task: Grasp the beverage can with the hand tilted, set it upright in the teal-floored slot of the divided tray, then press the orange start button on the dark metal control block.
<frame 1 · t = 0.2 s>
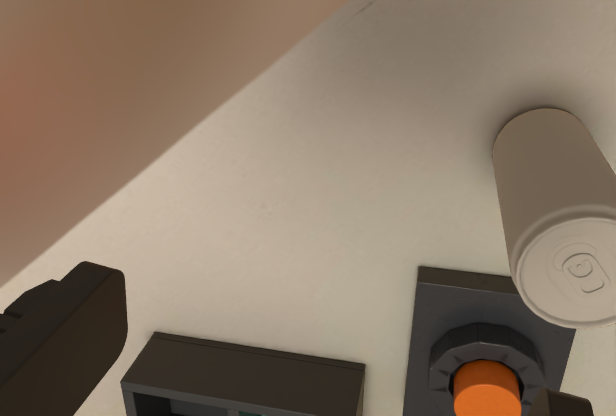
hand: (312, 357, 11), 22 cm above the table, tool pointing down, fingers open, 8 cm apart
beverage can: (539, 148, 30), on the table
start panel: (483, 348, 37), on the table
start button: (486, 395, 33), point 4 cm above the table, slide at 0.1 cm
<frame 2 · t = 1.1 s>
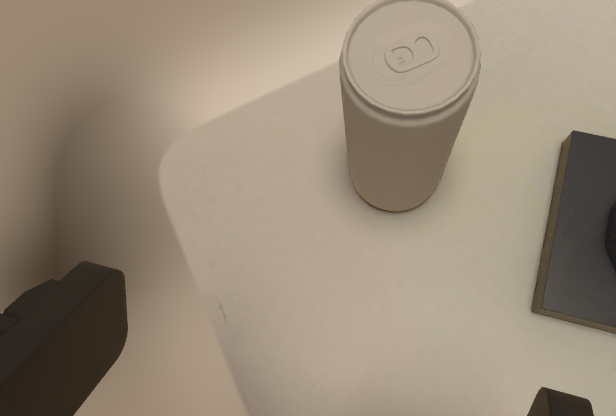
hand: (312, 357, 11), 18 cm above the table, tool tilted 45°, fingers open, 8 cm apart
beverage can: (395, 171, 31), on the table
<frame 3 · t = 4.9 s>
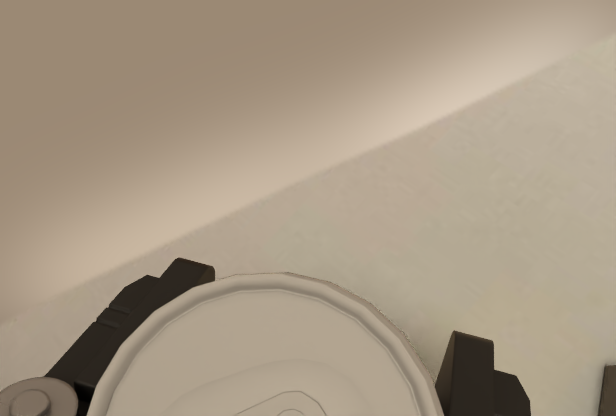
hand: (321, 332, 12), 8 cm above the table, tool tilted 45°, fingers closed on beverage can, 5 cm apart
beverage can: (326, 405, 19), on the table, touching gripper
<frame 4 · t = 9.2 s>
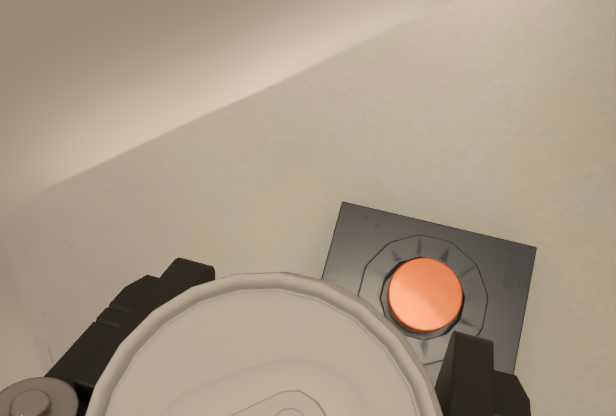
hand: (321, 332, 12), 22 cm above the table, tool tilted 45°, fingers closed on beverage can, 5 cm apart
beverage can: (326, 405, 19), point 14 cm above the table, touching gripper
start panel: (416, 304, 33), on the table
start button: (423, 296, 29), point 4 cm above the table, slide at 0.1 cm
when the fingers open (8 cm above the table, at t = 13.9 s): beverage can stays where it is, resting on divided tray.
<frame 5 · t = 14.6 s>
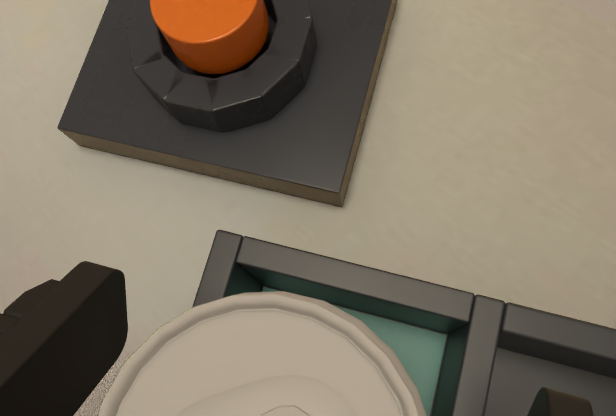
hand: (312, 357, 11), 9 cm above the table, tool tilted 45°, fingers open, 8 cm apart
beverage can: (325, 410, 19), point 1 cm above the table, touching divided tray
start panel: (238, 72, 24), on the table
start button: (211, 12, 20), point 4 cm above the table, slide at 0.1 cm
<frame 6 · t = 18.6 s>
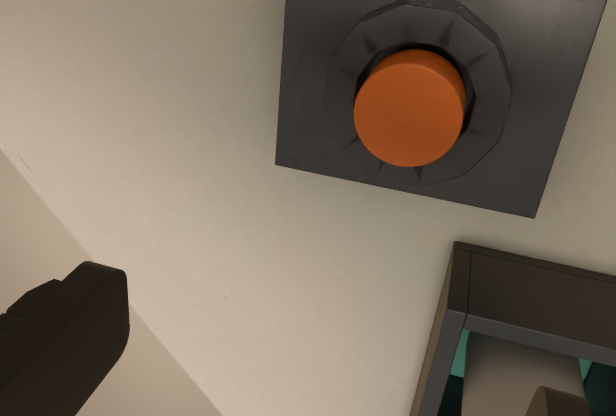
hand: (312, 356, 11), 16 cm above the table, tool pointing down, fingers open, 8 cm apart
divided tray: (576, 403, 29), on the table
beverage can: (519, 340, 28), point 1 cm above the table, touching divided tray
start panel: (423, 75, 24), on the table
start button: (410, 107, 20), point 4 cm above the table, slide at 0.1 cm
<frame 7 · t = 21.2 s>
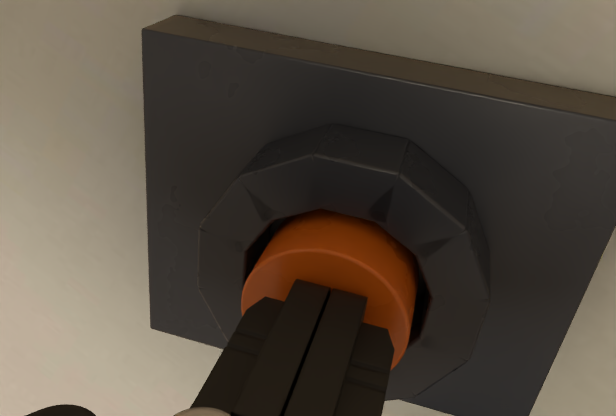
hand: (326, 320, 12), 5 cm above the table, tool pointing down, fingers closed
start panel: (361, 218, 16), on the table
start button: (332, 294, 13), point 3 cm above the table, slide at -0.5 cm, touching gripper
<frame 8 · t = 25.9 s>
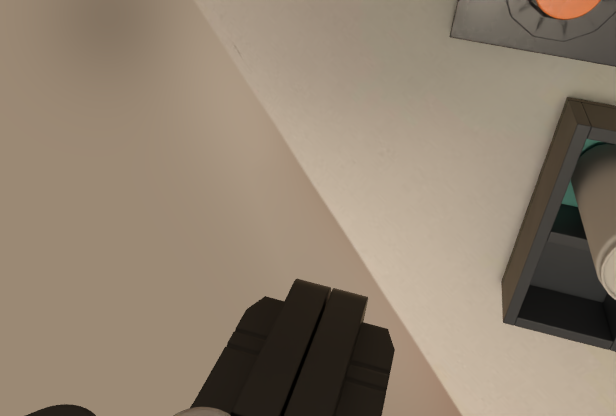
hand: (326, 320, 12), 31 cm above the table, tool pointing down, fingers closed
beverage can: (608, 171, 39), point 1 cm above the table, touching divided tray
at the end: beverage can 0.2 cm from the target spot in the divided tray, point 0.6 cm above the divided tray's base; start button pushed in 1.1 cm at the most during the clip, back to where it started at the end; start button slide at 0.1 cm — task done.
